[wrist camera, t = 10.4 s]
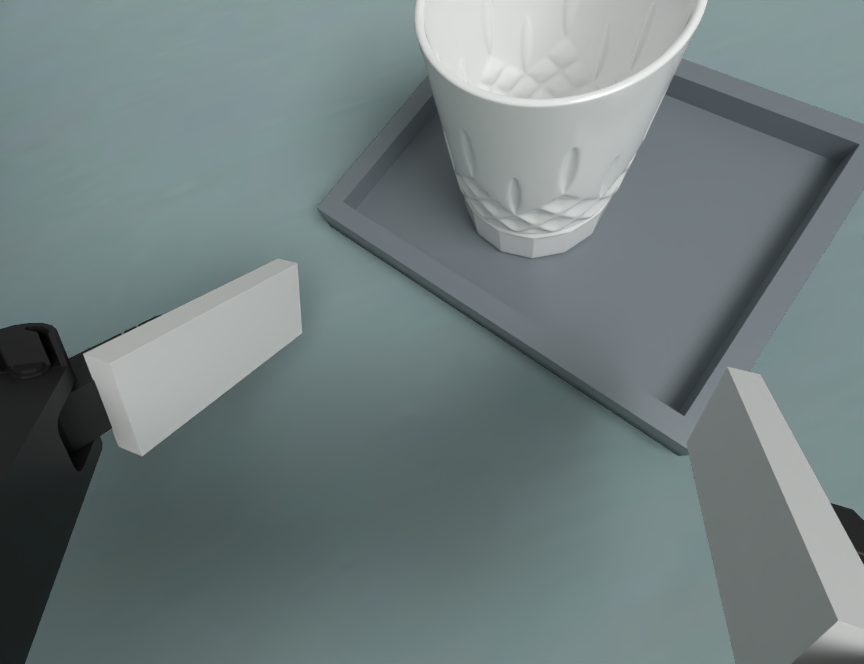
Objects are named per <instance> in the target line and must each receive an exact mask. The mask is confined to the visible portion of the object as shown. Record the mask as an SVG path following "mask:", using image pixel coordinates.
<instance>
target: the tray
mask: <svg viewBox="0 0 864 664" xmlns="http://www.w3.org/2000/svg"><path fill="white" fill-rule="evenodd" d="M863 190H864V124H862V123H859V122H856V121H853V120H851V119H848V118H845V117H842V116H840V115H837V114H834V113H831V112H829V111H826V110H823V109H820V108H817V107H815V106H812V105H809V104H806V103H804V102H801V101H798V100H795V99H793V98H790V97H787V96H784V95H781V94H779V93H776V92H773V91H770V90H768V89H765V88H762V87H759V86H757V85H754V84H751V83H748V82H745V81H743V80H740V79H737V78H734V77H732V76H729V75H726V74H723V73H721V72H718V71H715V70H712V69H709V68H707V67H704V66H701V65H698V64H696V63H693V62H690V61H687V60H685V59H682V60H681V62H680V64H679V66H678V68H677V70H676V72H675V75H674V77H673V79H672V81H671V83H670V85H669V87H668V89H667V92H666V94H665V96H664V98H663V100H662V102H661V104H660V106H659V109H658V111H657V113H656V115H655V117H654V119H653V121H652V123H651V126H650V128H649V130H648V132H647V134H646V136H645V138H644V140H643V142H642V144H641V145H640V147H639V149H638V151H637V153H636V155H635V157H634V159H633V161H632V163H631V165H630V167H629V169H628V171H627V172H626V174H625V177H624V179H623V181H622V183H621V185H620V187H619V189H618V190H617V192H616V193H614V194H613V196H612V198H611V200H610V202H609V204H608V207H607V209H606V210H605V212H604V214H603V216H602V217H601V219H600V221H599V223H598V224H597V226H596V228H595V230H594V231H593V233H592V234H591V235H590V236H589V237H587V238H586V239H584V240H583V241H581V242H580V243H578V244H577V245H575V246H574V247H572V248H571V249H569V250H568V251H566V252H564V253H559V254H554V255H548V256H543V257H537V258H528V257H523V256H519V255H515V254H510V253H505V252H501V251H500V250H499V249H497V248H496V247H495V246H493V245H492V244H491V243H489V242H488V241H487V240H486V239H484V238H483V237H482V236H480V235H479V234H478V233H477V230H476V228H475V226H474V224H473V222H472V219H471V217H470V215H469V213H468V210H467V208H466V204H465V200H464V196H463V194H462V192H461V190H460V187H459V184H458V181H457V178H456V174H455V171H454V168H453V165H452V162H451V159H450V156H449V152H448V149H447V145H446V142H445V138H444V134H443V130H442V127H441V123H440V119H439V115H438V112H437V108H436V104H435V100H434V97H433V93H432V89H431V86H430V82H429V78H428V76H427V77H426V79H425V80H424V81H423V82H422V83H421V85H420V86H419V87H418V88H417V89H416V90H415V92H414V93H413V94H412V95H411V96H410V98H409V99H408V100H407V101H406V102H405V104H404V105H403V106H402V107H401V108H400V109H399V111H398V112H397V113H396V114H395V115H394V117H393V118H392V119H391V120H390V121H389V123H388V124H387V125H386V126H385V127H384V128H383V130H382V131H381V132H380V133H379V134H378V136H377V137H376V138H375V139H374V140H373V142H372V143H371V144H370V145H369V146H368V147H367V149H366V150H365V151H364V152H363V153H362V155H361V156H360V157H359V158H358V159H357V160H356V162H355V163H354V164H353V165H352V166H351V168H350V169H349V170H348V171H347V172H346V174H345V175H344V176H343V177H342V178H341V179H340V181H339V182H338V183H337V184H336V185H335V187H334V188H333V189H332V190H331V191H330V193H329V194H328V195H327V196H326V197H325V198H324V200H323V201H322V202H321V203H320V204H319V206H318V207H317V209H318V210H319V212H320V213H321V214H322V216H323V217H324V218H325V220H326V221H327V222H328V223H329V225H330V226H331V227H333V228H334V229H336V230H337V231H339V232H340V233H342V234H343V235H345V236H346V237H348V238H349V239H351V240H352V241H354V242H355V243H357V244H358V245H360V246H362V247H363V248H365V249H366V250H368V251H369V252H371V253H372V254H374V255H375V256H377V257H378V258H380V259H381V260H383V261H384V262H386V263H387V264H389V265H390V266H392V267H393V268H395V269H396V270H398V271H399V272H401V273H402V274H404V275H405V276H407V277H409V278H410V279H412V280H413V281H415V282H416V283H418V284H419V285H421V286H422V287H424V288H425V289H427V290H428V291H430V292H431V293H433V294H434V295H436V296H437V297H439V298H440V299H442V300H443V301H445V302H446V303H448V304H449V305H451V306H452V307H454V308H456V309H457V310H459V311H460V312H462V313H463V314H465V315H466V316H468V317H469V318H471V319H472V320H474V321H475V322H477V323H478V324H480V325H481V326H483V327H484V328H486V329H487V330H489V331H490V332H492V333H493V334H495V335H496V336H498V337H499V338H501V339H503V340H504V341H506V342H507V343H509V344H510V345H512V346H513V347H515V348H516V349H518V350H519V351H521V352H522V353H524V354H525V355H527V356H528V357H530V358H531V359H533V360H534V361H536V362H537V363H539V364H540V365H542V366H543V367H545V368H546V369H548V370H550V371H551V372H553V373H554V374H556V375H557V376H559V377H560V378H562V379H563V380H565V381H566V382H568V383H569V384H571V385H572V386H574V387H575V388H577V389H578V390H580V391H581V392H583V393H584V394H586V395H587V396H589V397H590V398H592V399H593V400H595V401H597V402H598V403H600V404H601V405H603V406H604V407H606V408H607V409H609V410H610V411H612V412H613V413H615V414H616V415H618V416H619V417H621V418H622V419H624V420H625V421H627V422H628V423H630V424H631V425H633V426H634V427H636V428H637V429H639V430H640V431H642V432H644V433H645V434H647V435H648V436H650V437H651V438H653V439H654V440H656V441H657V442H659V443H660V444H662V445H663V446H665V447H666V448H668V449H669V450H671V451H672V452H674V453H675V454H677V455H678V456H682V455H689V453H688V448H687V444H686V443H687V441H688V439H689V437H690V435H691V434H692V432H693V430H694V428H695V426H696V424H697V422H698V420H699V419H700V417H701V415H702V413H703V411H704V409H705V407H706V405H707V404H708V402H709V400H710V398H711V396H712V394H713V392H714V391H715V389H716V387H717V385H718V383H719V381H720V379H721V377H722V376H723V374H724V372H725V370H726V368H727V367H731V368H735V369H740V370H744V371H748V372H749V371H750V369H751V368H752V366H753V364H754V363H755V361H756V360H757V358H758V357H759V355H760V353H761V352H762V350H763V349H764V347H765V345H766V344H767V342H768V341H769V339H770V337H771V336H772V334H773V333H774V331H775V330H776V328H777V326H778V325H779V323H780V322H781V320H782V318H783V317H784V315H785V314H786V312H787V311H788V309H789V307H790V306H791V304H792V303H793V301H794V299H795V298H796V296H797V295H798V293H799V292H800V290H801V288H802V287H803V285H804V284H805V282H806V280H807V279H808V277H809V276H810V274H811V273H812V271H813V269H814V268H815V266H816V265H817V263H818V261H819V260H820V258H821V257H822V255H823V253H824V252H825V250H826V249H827V247H828V246H829V244H830V242H831V241H832V239H833V238H834V236H835V234H836V233H837V231H838V230H839V228H840V227H841V225H842V223H843V222H844V220H845V219H846V217H847V215H848V214H849V212H850V211H851V209H852V208H853V206H854V204H855V203H856V201H857V200H858V198H859V196H860V195H861V193H862V192H863Z"/></svg>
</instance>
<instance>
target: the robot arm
mask: <svg viewBox="0 0 864 664" xmlns="http://www.w3.org/2000/svg"><path fill="white" fill-rule="evenodd" d="M300 334H302V322H301V308H300V294H299V280H298V266H297V263H295V262H291V261H287V260H282V259H276V260H274V261H272V262H270V263H268V264H266V265H264V266H262V267H260V268H258V269H256V270H254V271H251V272H249V273H247V274H245V275H243V276H241V277H239V278H237V279H235V280H233V281H231V282H229V283H227V284H225V285H223V286H221V287H219V288H217V289H215V290H213V291H211V292H209V293H207V294H204V295H202V296H200V297H198V298H196V299H194V300H192V301H190V302H188V303H186V304H184V305H182V306H180V307H178V308H176V309H174V310H172V311H170V312H168V313H166V314H163V315H159V316H156V317H153V318H151V319H149V320H147V321H145V322H143V323H141V324H139V325H138V327H133V328H131V329H129V330H127V331H125V332H124V334H121V333H120V334H118V335H116V336H114V337H112V338H110V339H108V340H106V341H104V342H102V343H100V344H98V345H96V346H94V347H92V348H90V349H87V350H85V351H83V352H81V353H79V354H77V355H75V356H73V357H71V358H69V359H68V357H67V354H66V352H65V349H64V347H63V344H62V342H61V339H60V337H59V334H58V332H57V329H56V328H54V327H53V326H52V325H49V324H44V323H27V324H20V325H13V326H10V327H6V328H3V329H0V664H25V662H26V659H27V656H28V653H29V650H30V648H31V645H32V642H33V639H34V637H35V634H36V631H37V628H38V625H39V623H40V620H41V617H42V614H43V612H44V609H45V606H46V603H47V600H48V598H49V595H50V592H51V589H52V587H53V584H54V581H55V578H56V575H57V573H58V570H59V567H60V564H61V562H62V559H63V556H64V553H65V550H66V548H67V545H68V542H69V539H70V537H71V534H72V531H73V528H74V526H75V523H76V520H77V517H78V514H79V512H80V509H81V506H82V503H83V501H84V498H85V495H86V492H87V489H88V487H89V484H90V481H91V478H92V476H93V473H94V470H95V467H96V464H97V462H98V459H99V456H100V453H101V451H102V441H101V438H100V436H101V435H102V434H104V433H105V432H107V431H108V430H110V429H112V431H113V434H114V437H115V439H116V442H117V444H118V447H121V448H123V449H125V450H128V451H130V452H133V453H135V454H137V455H140V456H143V455H145V454H146V453H147V452H148V451H150V450H151V449H152V448H154V447H155V446H156V445H158V444H159V443H160V442H161V441H163V440H164V439H165V438H167V437H168V436H169V435H171V434H172V433H173V432H174V431H176V430H177V429H178V428H180V427H181V426H182V425H184V424H185V423H186V422H187V421H189V420H190V419H191V418H193V417H194V416H195V415H197V414H198V413H199V412H200V411H202V410H203V409H204V408H206V407H207V406H208V405H209V404H211V403H212V402H213V401H215V400H216V399H217V398H219V397H220V396H221V395H222V394H224V393H225V392H226V391H228V390H229V389H230V388H232V387H233V386H234V385H235V384H237V383H238V382H239V381H241V380H242V379H243V378H245V377H246V376H247V375H248V374H250V373H251V372H252V371H254V370H255V369H256V368H257V367H259V366H260V365H261V364H263V363H264V362H265V361H267V360H268V359H269V358H270V357H272V356H273V355H274V354H276V353H277V352H278V351H280V350H281V349H282V348H283V347H285V346H286V345H287V344H289V343H290V342H291V341H293V340H294V339H295V338H296V337H298V336H299V335H300ZM686 444H687V448H688V453H689V457H690V462H691V466H692V471H693V475H694V480H695V484H696V489H697V493H698V498H699V502H700V506H701V511H702V515H703V520H704V524H705V529H706V533H707V538H708V542H709V547H710V551H711V556H712V560H713V565H714V569H715V574H716V578H717V583H718V587H719V592H720V596H721V601H722V605H723V610H724V614H725V619H726V623H727V628H728V632H729V637H730V641H731V646H732V650H733V655H734V659H735V664H864V520H863V519H862V518H861V517H860V516H859V515H858V514H857V513H856V512H855V511H854V510H852V509H849V508H845V507H842V506H839V505H835V504H832V503H830V502H829V500H828V498H827V496H826V495H825V493H824V491H823V489H822V487H821V485H820V484H819V482H818V480H817V478H816V476H815V474H814V472H813V471H812V469H811V467H810V465H809V463H808V461H807V460H806V458H805V456H804V454H803V452H802V450H801V449H800V447H799V445H798V443H797V441H796V439H795V438H794V436H793V434H792V432H791V430H790V428H789V427H788V425H787V423H786V421H785V419H784V417H783V415H782V414H781V412H780V410H779V408H778V406H777V404H776V403H775V401H774V399H773V397H772V395H771V393H770V392H769V390H768V388H767V386H766V384H765V382H764V381H763V379H762V377H761V375H760V374H756V373H752V372H748V371H744V370H740V369H735V368H731V367H727V368H726V370H725V372H724V374H723V376H722V377H721V379H720V381H719V383H718V385H717V387H716V389H715V391H714V392H713V394H712V396H711V398H710V400H709V402H708V404H707V405H706V407H705V409H704V411H703V413H702V415H701V417H700V419H699V420H698V422H697V424H696V426H695V428H694V430H693V432H692V434H691V435H690V437H689V439H688V441H687V443H686Z"/></svg>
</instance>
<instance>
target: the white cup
mask: <svg viewBox="0 0 864 664" xmlns="http://www.w3.org/2000/svg"><path fill="white" fill-rule="evenodd" d="M706 4H707V0H416V5H415V29H416V35H417V38H418V42H419V46H420V49H421V53H422V56H423V60H424V64H425V67H426V71H427V75H428V78H429V82H430V86H431V89H432V93H433V97H434V100H435V104H436V108H437V112H438V115H439V119H440V123H441V127H442V130H443V134H444V138H445V142H446V145H447V149H448V152H449V156H450V159H451V162H452V165H453V168H454V171H455V174H456V178H457V181H458V184H459V187H460V190H461V192H462V194H463V196H464V200H465V204H466V208H467V210H468V213H469V215H470V217H471V219H472V222H473V224H474V226H475V228H476V230H477V233H478V234H479V235H480V236H482V237H483V238H484V239H486V240H487V241H488V242H489V243H491V244H492V245H493V246H495V247H496V248H497V249H499V250H500V251H501V252H505V253H510V254H515V255H519V256H523V257H528V258H537V257H543V256H548V255H554V254H559V253H564V252H566V251H568V250H569V249H571V248H572V247H574V246H575V245H577V244H578V243H580V242H581V241H583V240H584V239H586V238H587V237H589V236H590V235H591V234H592V233H593V231H594V230H595V228H596V226H597V224H598V223H599V221H600V219H601V217H602V216H603V214H604V212H605V210H606V209H607V207H608V204H609V202H610V200H611V198H612V196H613V194H614V193H616V192H617V190H618V189H619V187H620V185H621V183H622V181H623V179H624V177H625V174H626V172H627V171H628V169H629V167H630V165H631V163H632V161H633V159H634V157H635V155H636V153H637V151H638V149H639V147H640V145H641V144H642V142H643V140H644V138H645V136H646V134H647V132H648V130H649V128H650V126H651V123H652V121H653V119H654V117H655V115H656V113H657V111H658V109H659V106H660V104H661V102H662V100H663V98H664V96H665V94H666V92H667V89H668V87H669V85H670V83H671V81H672V79H673V77H674V75H675V72H676V70H677V68H678V66H679V64H680V62H681V60H682V58H683V56H684V54H685V52H686V49H687V47H688V45H689V43H690V41H691V39H692V37H693V35H694V33H695V31H696V29H697V27H698V25H699V22H700V20H701V18H702V16H703V13H704V11H705V8H706Z"/></svg>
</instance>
